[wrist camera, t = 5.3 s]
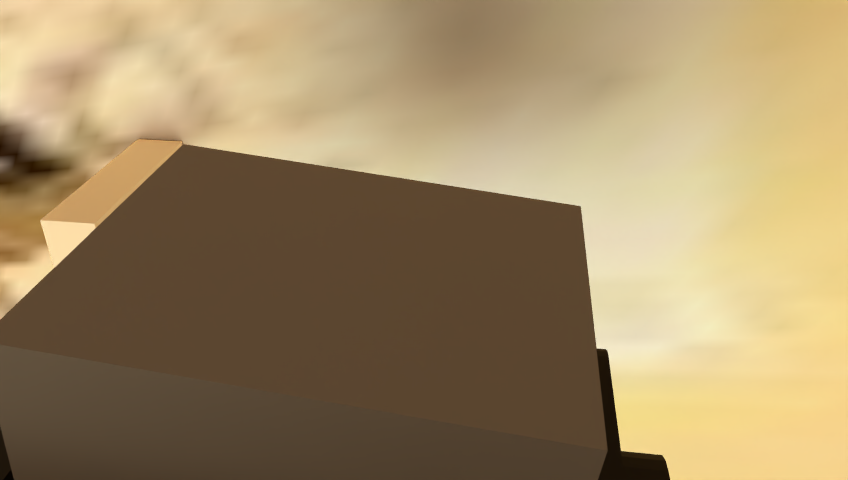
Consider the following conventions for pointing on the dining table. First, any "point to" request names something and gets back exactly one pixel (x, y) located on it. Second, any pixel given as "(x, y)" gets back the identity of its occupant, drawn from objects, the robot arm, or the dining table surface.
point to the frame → (102, 195)
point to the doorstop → (308, 334)
